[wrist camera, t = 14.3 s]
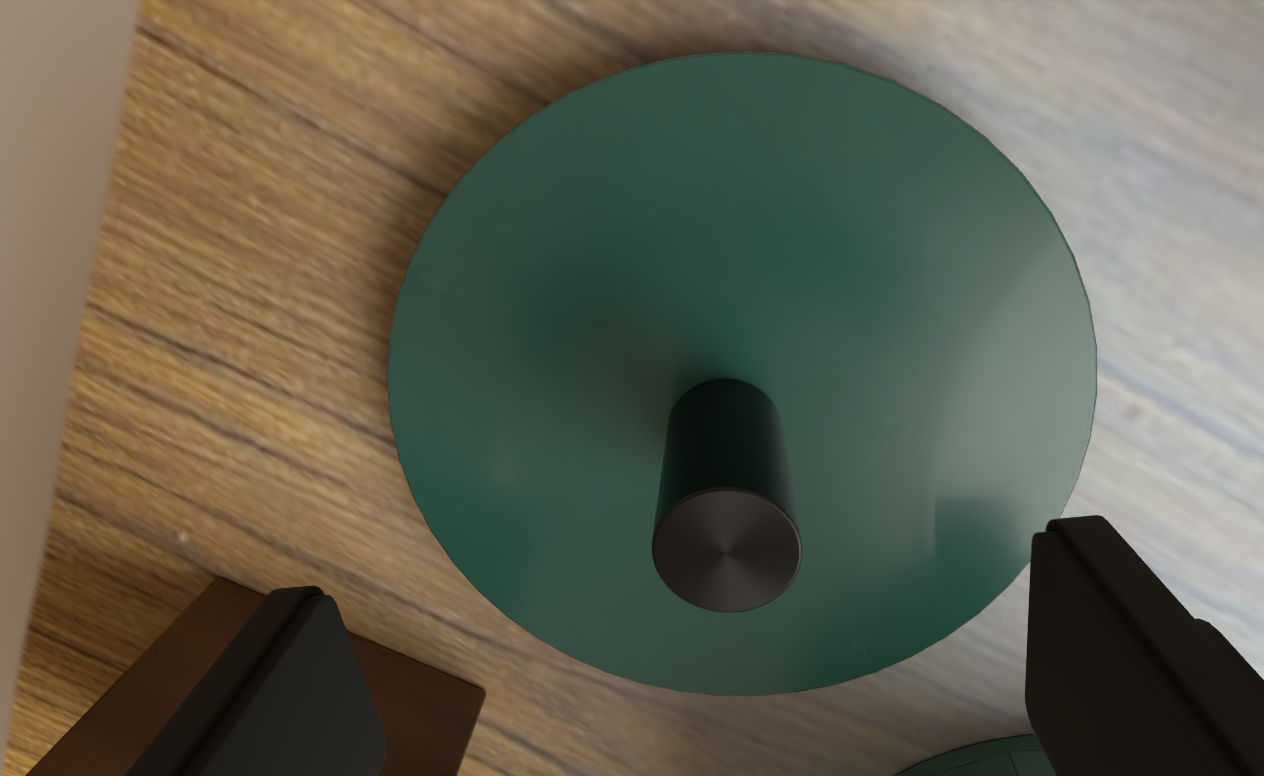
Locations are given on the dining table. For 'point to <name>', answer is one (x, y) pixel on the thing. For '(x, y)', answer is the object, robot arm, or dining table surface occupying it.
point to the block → (173, 665)
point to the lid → (742, 373)
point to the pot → (990, 760)
